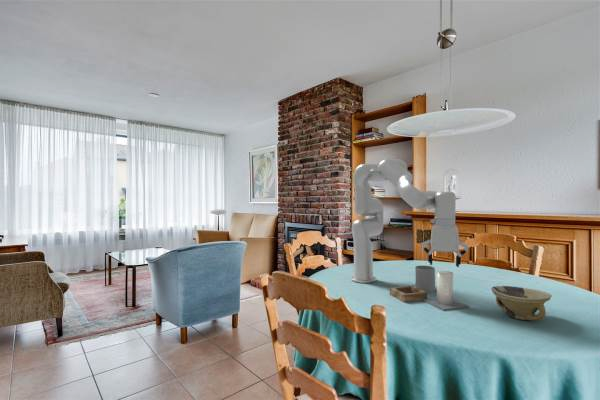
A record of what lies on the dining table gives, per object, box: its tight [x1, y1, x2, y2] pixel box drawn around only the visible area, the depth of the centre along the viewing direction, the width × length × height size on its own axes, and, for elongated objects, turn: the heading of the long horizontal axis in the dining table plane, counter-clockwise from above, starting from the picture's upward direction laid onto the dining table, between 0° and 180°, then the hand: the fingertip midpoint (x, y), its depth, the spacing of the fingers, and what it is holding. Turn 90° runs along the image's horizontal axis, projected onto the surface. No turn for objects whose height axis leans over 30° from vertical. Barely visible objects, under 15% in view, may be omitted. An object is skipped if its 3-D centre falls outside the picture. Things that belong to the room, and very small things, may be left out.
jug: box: [436, 270, 454, 305], centre depth 126 cm, size 8×6×12 cm
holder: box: [389, 285, 428, 303], centre depth 137 cm, size 11×11×3 cm
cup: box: [415, 265, 436, 293], centre depth 148 cm, size 8×8×10 cm
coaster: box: [422, 297, 470, 312], centre depth 127 cm, size 12×12×1 cm
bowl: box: [490, 285, 553, 322], centre depth 113 cm, size 18×18×10 cm
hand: (444, 265), depth 128 cm, fingers open, 9 cm apart
